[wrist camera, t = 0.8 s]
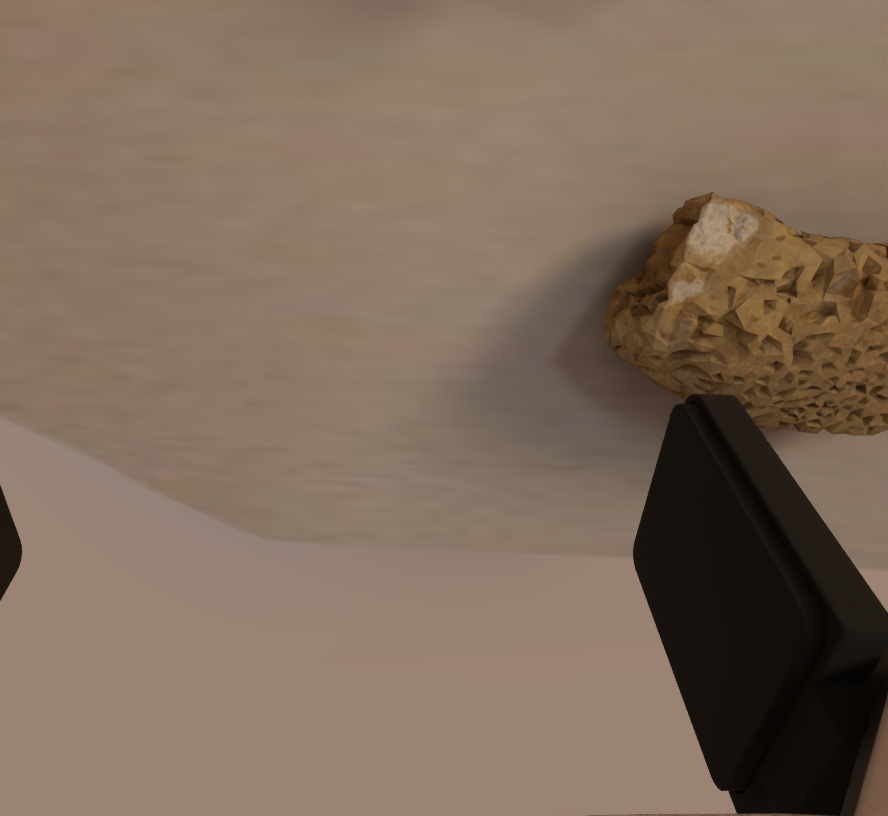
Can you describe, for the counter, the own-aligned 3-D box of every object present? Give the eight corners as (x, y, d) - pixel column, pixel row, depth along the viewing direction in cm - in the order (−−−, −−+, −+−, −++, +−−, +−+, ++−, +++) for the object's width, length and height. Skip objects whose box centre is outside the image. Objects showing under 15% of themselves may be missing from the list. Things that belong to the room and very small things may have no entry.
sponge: (574, 327, 42) (856, 482, 45) (595, 365, 35) (931, 548, 37) (708, 109, 38) (1010, 294, 40) (765, 100, 31) (1129, 326, 33)
